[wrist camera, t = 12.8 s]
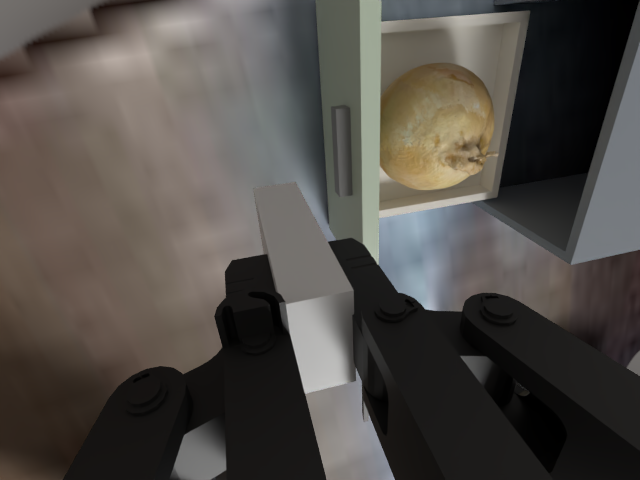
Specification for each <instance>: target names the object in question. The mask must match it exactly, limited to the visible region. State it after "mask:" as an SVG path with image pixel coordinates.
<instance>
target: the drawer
mask: <svg viewBox="0 0 640 480" xmlns="http://www.w3.org/2000/svg"><path fill="white" fill-rule="evenodd" d="M315 2H316V18H317V35H318V51H319V67H320V83H321V99H322V116H323V132H324V148H325V164H326V180H327V197H328V213H329V228H330V230H331V232H332V233H333V235H334V237H335V238H336V240H341V239H347V238H353V239H355V240H357V241H359V242H360V243H362V244H364V245H365V247H366V248H367V249H368V251H369V252H370V254H371V257H373V258H374V259H375V261H376V262H377V265H379V218H383V217H388V216H394V215H400V214H405V213H411V212H417V211H422V210H428V209H434V208H439V207H445V206H451V205H456V204H462V203H468V202H473V201H479V200H485V199H491V198H496V197H497V196H498V191H499V185H500V180H501V174H502V168H503V163H504V157H505V151H506V146H507V140H508V135H509V129H510V123H511V118H512V112H513V106H514V101H515V95H516V90H517V84H518V78H519V73H520V67H521V62H522V56H523V50H524V45H525V39H526V33H527V28H528V22H529V17H530V11H531V10H530V11H516V12H503V13H489V14H476V15H462V16H449V17H435V18H422V19H409V20H395V21H382V22H381V0H315ZM431 63H452V64H456V65H460V66H462V67H465V68H467V69H468V70H470V71H472V72H473V73H474V74H475V75H477V76H478V77H479V78H480V79H481V80H482V81H483V83H484V84H485V86H486V88H487V90H488V92H489V94H490V96H491V99H492V103H493V108H494V117H495V118H494V119H495V121H494V131H493V135H492V139H491V142H490V145H489V148H488V150H487V152H490V151H492V152H493V151H496V153H497V152H498V153H499V155H498V156H497V157H496V156H494V155H493V156H490V157H489V156H488V157H487V158H486V159H487V160H486V162H485V164H484V165H483V168H482V170H481V171H479V172H478V173H476V174H475V175H470V176H469V177H467V178H466V179H465V180H463V181H461V182H460V183H458V184H456V185H453V186H450V187H447V188H442V189H434V190H417V189H413V188H409V187H407V186H405V185H403V184H401V183H399V182H397V181H395V180H393V179H392V178H390V177H389V176H388V175H387V174H386V173H385V172H384V171H383V169H382V168H381V167H380V97H381V96H382V94H383V93H384V91H385V90H386V89H387V88H388V86H389V85H390V84H391V83H392V82H393V81H394V80H396V79H397V78H398V77H400V76H401V75H403V74H404V73H406V72H407V71H409V70H411V69H413V68H416V67H419V66H422V65H426V64H431ZM487 152H486V153H487ZM485 155H486V154H485Z"/></svg>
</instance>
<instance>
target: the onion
mask: <svg viewBox="0 0 640 480" xmlns="http://www.w3.org/2000/svg"><path fill="white" fill-rule="evenodd" d="M494 118H495V117H494V108H493V103H492V99H491V96H490V94H489V92H488V90H487V88H486V86H485V84H484V83H483V81H482V80H481V79H480V78H479V77H478V76H477V75H475V74H474V73H473V72H472V71H470V70H468V69H467V68H465V67H462V66H460V65H456V64H452V63H431V64H426V65H422V66H419V67H416V68H413V69H411V70H409V71H407V72H406V73H404V74H403V75H401V76H400V77H398V78H397V79H396V80H394V81H393V82H392V83H391V84H390V85H389V86H388V88H387V89H386V90H385V91H384V93H383V94H382V96H381V97H380V167H381V168H382V169H383V171H384V172H385V173H386V174H387V175H388V176H389V177H390V178H392V179H393V180H395V181H397V182H399V183H401V184H403V185H405V186H407V187H409V188H413V189H417V190H434V189H442V188H447V187H450V186H453V185H456V184H458V183H460V182H461V181H463V180H465V179H466V178H467V177H469V176H470V175H475V174H476V173H478V172H479V171H481V170H482V168H483V165H484V164H485V162H486V160H487V159H486V158H487V157H488V156H489V157H490V156H493V155H494V156H496V157H497V156H498V155H499V153H498V152H497V153H496V151H493V152H492V151H490V152H487V150H488V148H489V145H490V142H491V139H492V135H493V131H494V121H495V119H494ZM486 152H487V153H486ZM485 154H486V155H485Z"/></svg>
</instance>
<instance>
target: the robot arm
mask: <svg viewBox="0 0 640 480" xmlns="http://www.w3.org/2000/svg"><path fill="white" fill-rule="evenodd" d="M253 190H254V197H255V203H256V209H257V215H258V221H259V227H260V233H261V239H262V245H263V251H264V255H259V256H253V257H248V258H242V259H237V260H232V261H231V263H230V264H229V266H228V268H227V269H226V271H225V284H226V298H225V299H224V300H223V301H222V302H221V304H220V305H219V306H218V307H217V310H216V313H215V316H214V317H215V320H216V324H217V328H218V332H219V335H220V339H221V343H222V349H221V350H220V351H219V352H218V354H217V355H215V356H214V357H213V358H212V359H211V360H209V361H208V362H206V363H204V364H203V365H201V366H199V367H197V368H195V369H193V370H191V371H189V372H187V373H185V374H182V373H181V372H179V371H178V370H176V369H174V368H171V367H163V366H159V367H154V368H149V369H145V370H143V371H141V372H139V373H137V374H135V375H132V376H131V377H130V378H128V379H127V380H126V381H124V382H123V383H122V384H121V385H119V386H118V387H117V389H116V390H115V391H114V393H113V394H112V395H111V396H110V398H109V399H108V401H107V403H106V404H105V406H104V408H103V410H102V412H101V413H100V415H99V417H98V419H97V420H96V422H95V424H94V426H93V427H92V429H91V431H90V433H89V435H88V436H87V438H86V440H85V442H84V443H83V445H82V447H81V449H80V450H79V452H78V454H77V456H76V458H75V459H74V461H73V463H72V465H71V466H70V468H69V470H68V472H67V473H66V475H65V477H64V479H63V480H326V476H325V472H324V468H323V464H322V460H321V456H320V452H319V448H318V444H317V440H316V436H315V432H314V428H313V424H312V420H311V416H310V412H309V408H308V404H307V400H306V396H305V394H306V393H310V392H314V391H318V390H322V389H326V388H330V387H334V386H338V385H342V384H346V383H350V382H354V381H356V368H357V371H358V373H359V376H360V378H361V380H362V413H363V420H364V422H366V421H368V413H369V415H370V418H371V421H372V423H373V426H374V428H375V431H376V433H377V436H378V438H379V441H380V443H381V446H382V448H383V451H384V453H385V456H386V458H387V461H388V463H389V466H390V468H391V471H392V473H393V476H394V478H395V480H640V376H638V375H637V374H635V373H634V372H632V371H630V370H629V369H627V368H625V367H624V366H622V365H621V364H619V363H617V362H616V361H614V360H613V359H611V358H609V357H608V356H606V355H605V354H603V353H601V352H600V351H598V350H596V349H595V348H593V347H592V346H590V345H588V344H587V343H585V342H584V341H582V340H580V339H579V338H577V337H576V336H574V335H572V334H571V333H569V332H568V331H566V330H564V329H563V328H561V327H559V326H558V325H556V324H555V323H553V322H551V321H550V320H548V319H547V318H545V317H543V316H542V315H540V314H539V313H537V312H535V311H534V310H532V309H530V308H529V307H527V306H526V305H524V304H522V303H521V302H519V301H517V300H515V299H513V298H510V297H508V296H505V295H500V294H496V293H481V294H477V295H473V296H471V297H470V298H468V299H467V300H466V301H465V303H464V306H463V311H462V312H455V311H432V310H426V309H424V308H423V306H422V305H421V304H420V303H419V302H418V301H417V300H415V299H414V298H412V297H410V296H408V295H406V294H402V293H398V292H397V291H396V289H395V288H394V286H393V285H392V284H391V282H390V281H389V279H388V278H387V276H386V275H385V274H384V272H383V271H382V269H381V268H380V266H379V265H377V262H376V261H375V259H374V258H373V257H371V254H370V252H369V251H368V249H367V248H366V247H365V245H364V244H362V243H360V242H359V241H357V240H355V239H353V238H347V239H341V240H336V241H330V242H327V240H326V238H325V236H324V234H323V232H322V230H321V229H320V227H319V225H318V223H317V221H316V219H315V217H314V216H313V214H312V212H311V210H310V208H309V206H308V204H307V203H306V201H305V199H304V197H303V195H302V193H301V191H300V190H299V188H298V186H297V184H296V182H292V183H286V184H279V185H272V186H265V187H258V188H253ZM517 382H519V383H520V384H521V385H522V386H523V387H525V388H526V389H527V390H528V391H530V392H528V391H525V390H523V389H522V388H520V387H519V386H517V385H516V384H517Z"/></svg>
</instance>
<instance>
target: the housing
mask: <svg viewBox="0 0 640 480" xmlns="http://www.w3.org/2000/svg"><path fill="white" fill-rule="evenodd" d="M547 1H561V0H494V5H504V4H518V3H532V2H547ZM472 203H473V204H475V205H477V206H478V207H480V208H481V209H483V210H484V211H486V212H488V213H489V214H491V215H492V216H494V217H496V218H497V219H499V220H500V221H502V222H504V223H505V224H507V225H508V226H510V227H511V228H513V229H515V230H516V231H518V232H519V233H521V234H523V235H524V236H526V237H527V238H529V239H530V240H532V241H534V242H535V243H537V244H538V245H540V246H542V247H543V248H545V249H546V250H548V251H549V252H551V253H553V254H554V255H556V256H557V257H559V258H561V259H562V260H564V261H565V262H567V263H568V264H570V265H572V264H577V263H581V262H586V261H590V260H595V259H599V258H604V257H608V256H613V255H617V254H622V253H626V252H631V251H635V250H640V0H639V3H638V7H637V10H636V14H635V17H634V20H633V24H632V27H631V30H630V34H629V37H628V41H627V44H626V47H625V51H624V54H623V57H622V61H621V64H620V68H619V71H618V74H617V78H616V81H615V85H614V88H613V91H612V95H611V98H610V101H609V105H608V108H607V112H606V115H605V118H604V122H603V125H602V128H601V132H600V135H599V139H598V142H597V145H596V149H595V152H594V155H593V159H592V162H591V166H590V169H589V172H588V173H584V174H578V175H572V176H566V177H560V178H555V179H549V180H543V181H537V182H531V183H525V184H520V185H514V186H508V187H502V188H499V191H498V196H497V197H496V198H491V199H485V200H479V201H473V202H472Z"/></svg>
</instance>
